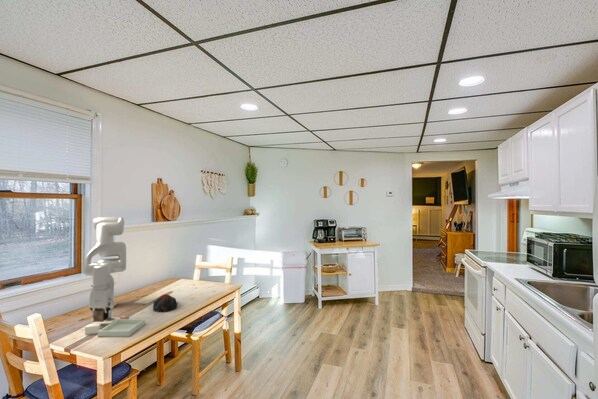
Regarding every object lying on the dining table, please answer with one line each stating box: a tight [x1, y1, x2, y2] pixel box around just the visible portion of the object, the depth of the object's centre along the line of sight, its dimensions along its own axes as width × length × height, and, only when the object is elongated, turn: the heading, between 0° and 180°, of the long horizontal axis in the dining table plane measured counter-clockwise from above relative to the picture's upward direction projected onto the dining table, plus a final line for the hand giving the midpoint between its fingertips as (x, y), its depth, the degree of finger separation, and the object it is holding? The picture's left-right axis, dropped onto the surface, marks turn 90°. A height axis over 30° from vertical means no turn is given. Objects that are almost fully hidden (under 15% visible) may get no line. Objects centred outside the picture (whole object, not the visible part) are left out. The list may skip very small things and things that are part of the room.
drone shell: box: [152, 294, 178, 313], centre depth 197 cm, size 21×20×8 cm
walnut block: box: [92, 308, 108, 323], centre depth 167 cm, size 5×5×6 cm
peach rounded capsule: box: [119, 314, 130, 319], centre depth 172 cm, size 4×4×3 cm
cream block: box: [84, 322, 102, 336], centre depth 157 cm, size 6×4×4 cm, turn 109°
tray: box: [97, 318, 146, 337], centre depth 160 cm, size 16×16×3 cm
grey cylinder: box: [103, 309, 113, 322], centre depth 176 cm, size 4×4×5 cm
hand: (100, 318), depth 167 cm, fingers closed on walnut block, 5 cm apart
